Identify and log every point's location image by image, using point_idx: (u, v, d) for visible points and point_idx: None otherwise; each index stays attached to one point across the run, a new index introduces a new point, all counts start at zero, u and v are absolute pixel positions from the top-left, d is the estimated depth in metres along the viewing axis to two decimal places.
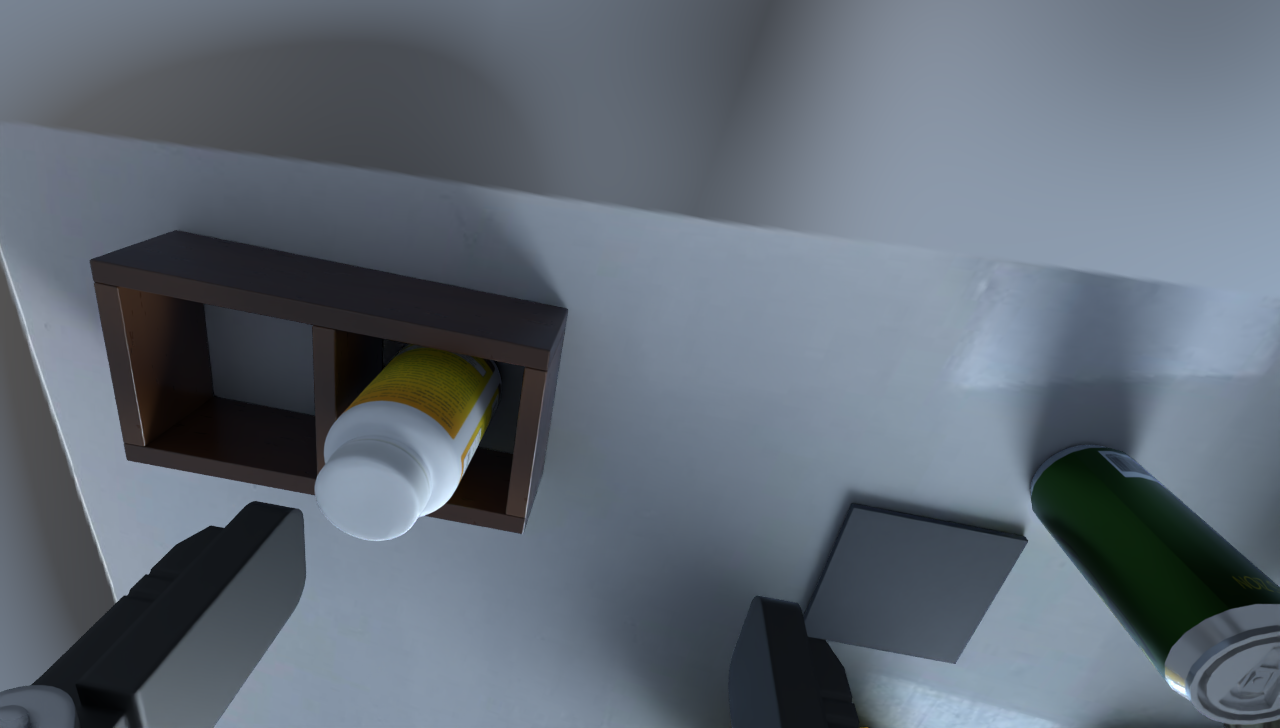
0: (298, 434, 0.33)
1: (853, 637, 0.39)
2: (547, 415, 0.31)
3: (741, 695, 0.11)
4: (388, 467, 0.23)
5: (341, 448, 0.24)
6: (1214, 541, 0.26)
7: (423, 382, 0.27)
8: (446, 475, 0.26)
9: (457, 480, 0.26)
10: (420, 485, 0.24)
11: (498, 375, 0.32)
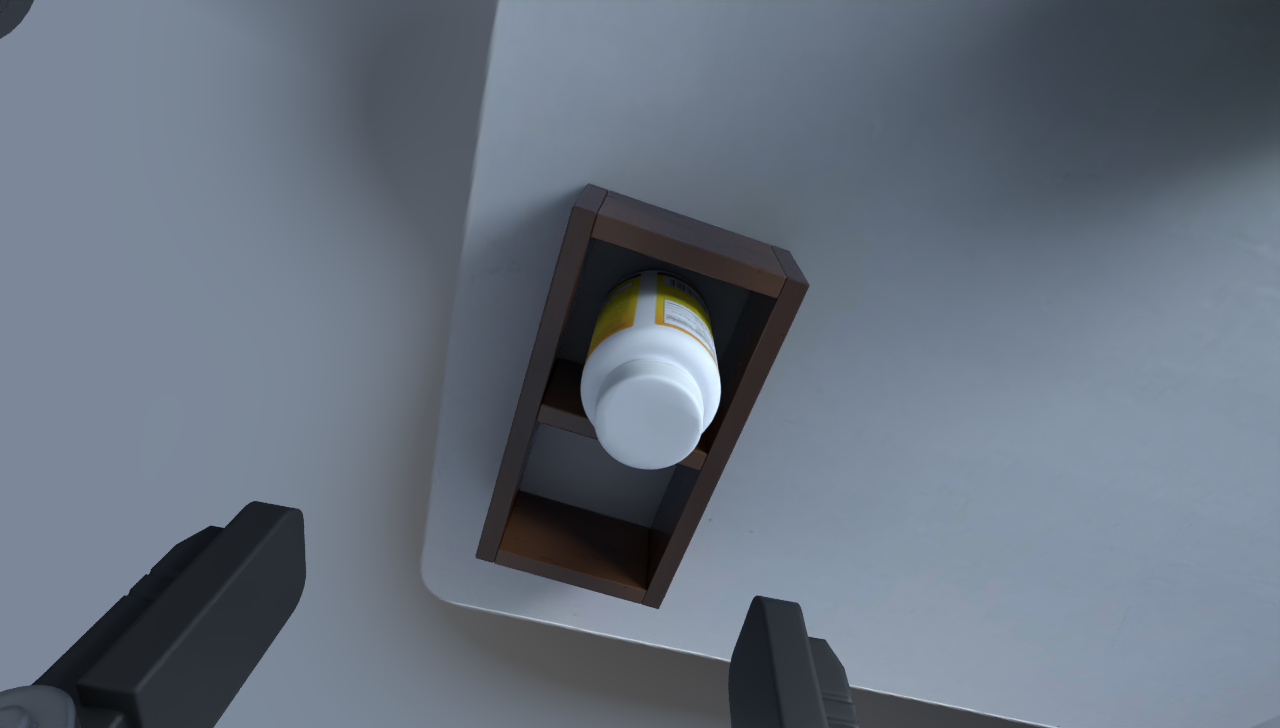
0: (681, 473, 0.34)
1: None
2: (688, 227, 0.28)
3: (741, 695, 0.11)
4: (609, 391, 0.23)
5: None
6: None
7: (592, 341, 0.27)
8: (662, 343, 0.24)
9: (677, 334, 0.24)
10: (645, 369, 0.23)
11: (649, 271, 0.30)
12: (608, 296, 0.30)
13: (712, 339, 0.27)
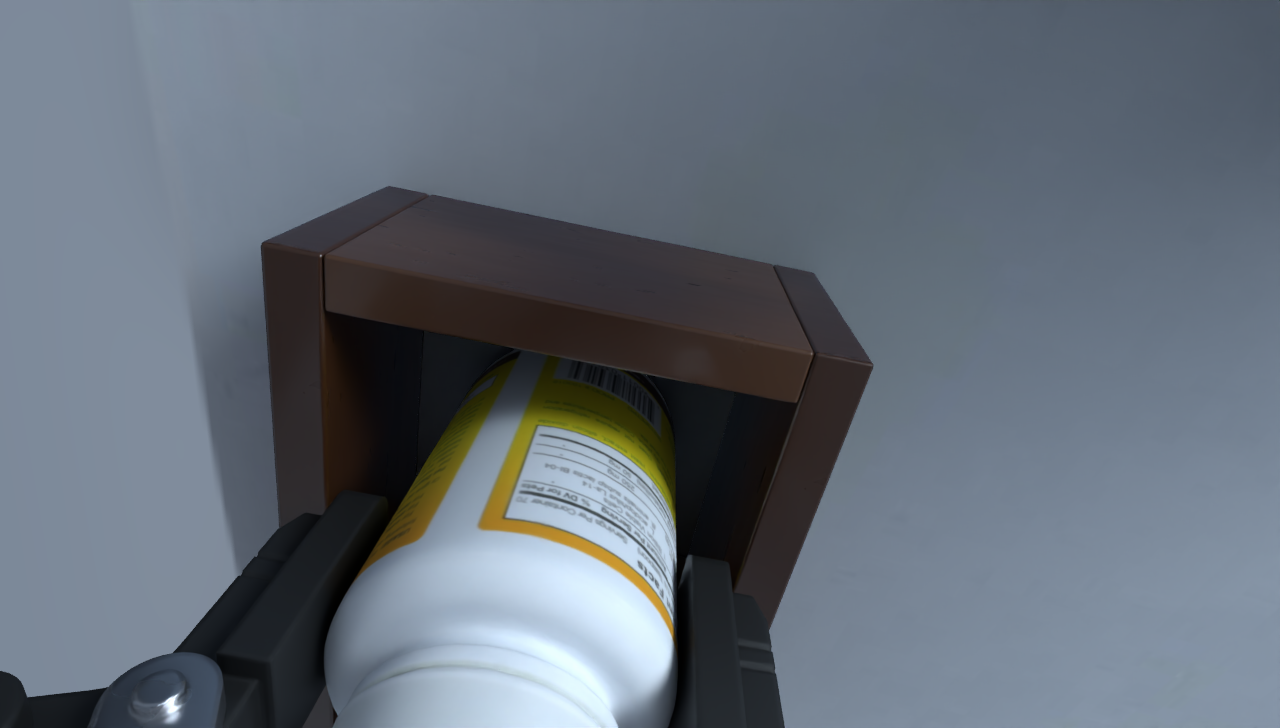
0: None
1: None
2: (584, 254, 0.13)
3: None
4: None
5: None
6: None
7: None
8: (489, 593, 0.09)
9: (533, 557, 0.09)
10: (417, 710, 0.08)
11: None
12: None
13: (660, 499, 0.12)
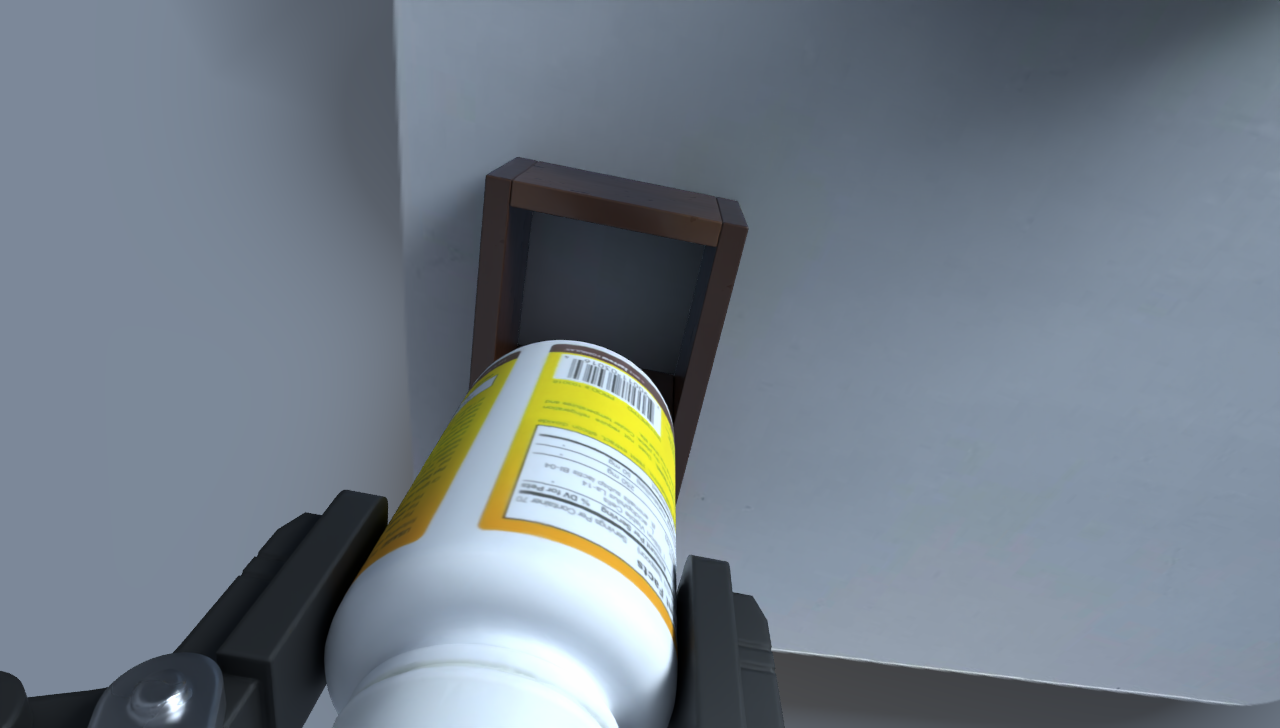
0: None
1: None
2: (619, 187, 0.26)
3: None
4: None
5: None
6: None
7: None
8: (488, 593, 0.09)
9: (532, 556, 0.09)
10: (418, 707, 0.08)
11: (537, 345, 0.15)
12: None
13: (660, 499, 0.12)
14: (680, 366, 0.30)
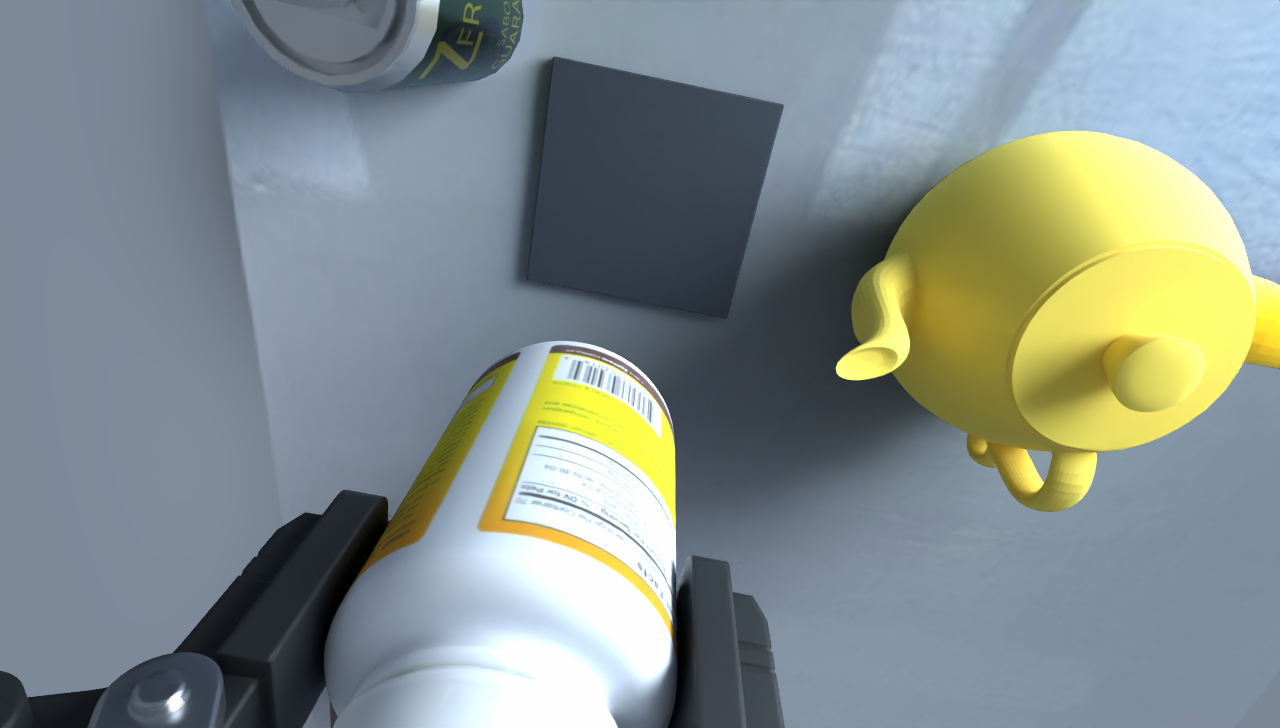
0: None
1: (730, 253, 0.30)
2: None
3: None
4: None
5: None
6: None
7: None
8: (488, 594, 0.09)
9: (532, 558, 0.09)
10: (417, 710, 0.08)
11: (537, 346, 0.15)
12: (461, 405, 0.15)
13: (660, 500, 0.12)
14: None
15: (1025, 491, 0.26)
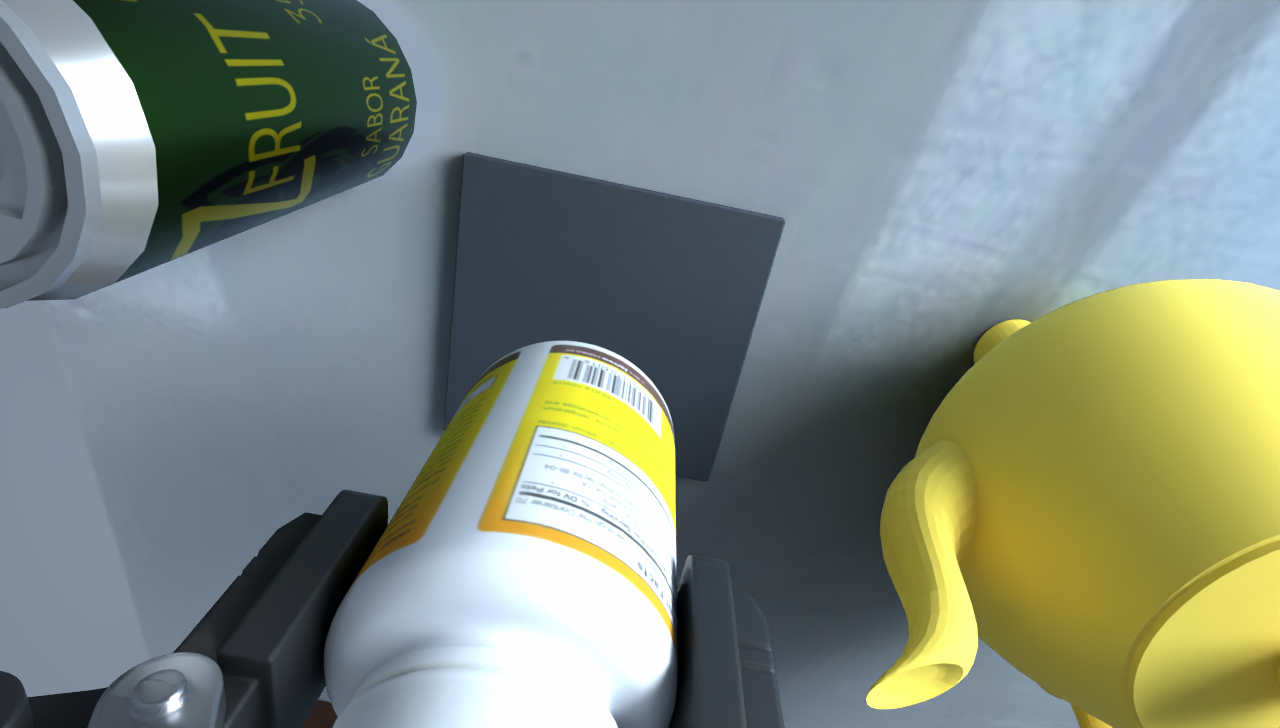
0: None
1: (711, 404, 0.23)
2: None
3: None
4: None
5: None
6: None
7: None
8: (488, 594, 0.09)
9: (532, 558, 0.09)
10: (417, 710, 0.08)
11: (537, 346, 0.15)
12: (461, 405, 0.15)
13: (660, 500, 0.12)
14: None
15: None
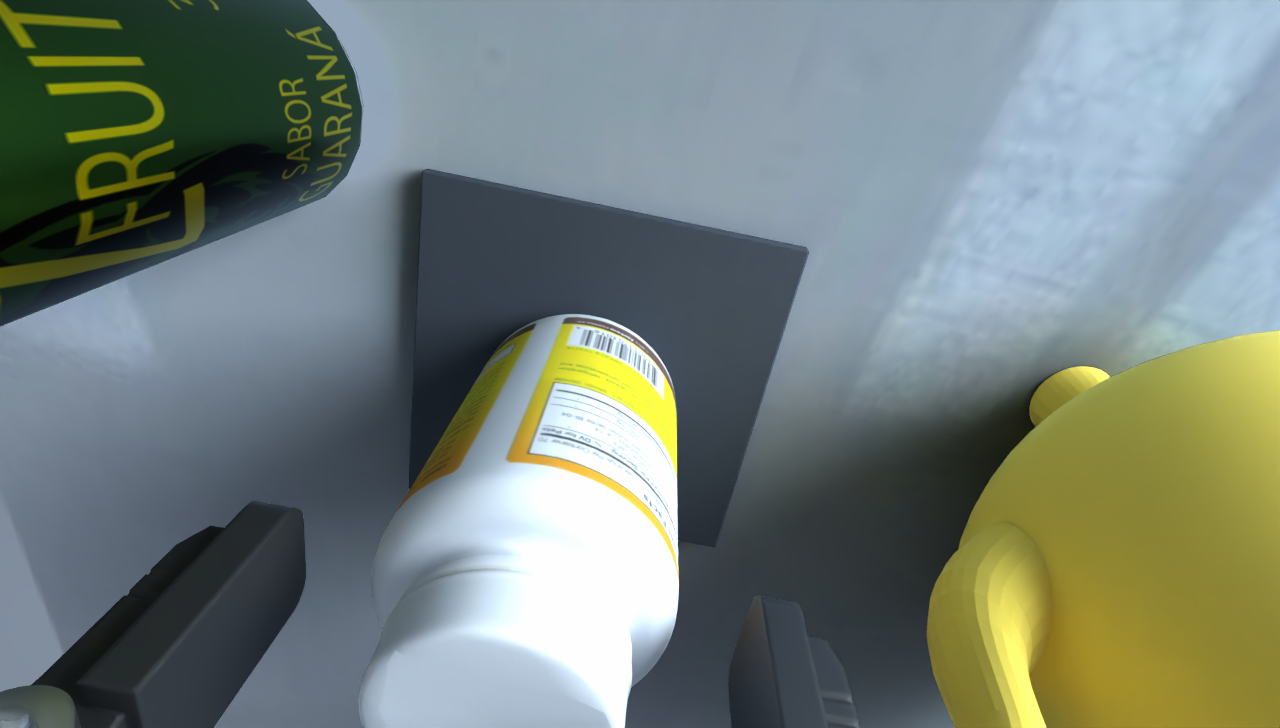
0: None
1: (719, 462, 0.19)
2: None
3: (741, 695, 0.11)
4: (374, 669, 0.09)
5: None
6: None
7: None
8: (517, 511, 0.10)
9: (554, 483, 0.10)
10: (461, 600, 0.09)
11: (551, 318, 0.17)
12: None
13: (663, 450, 0.14)
14: None
15: None
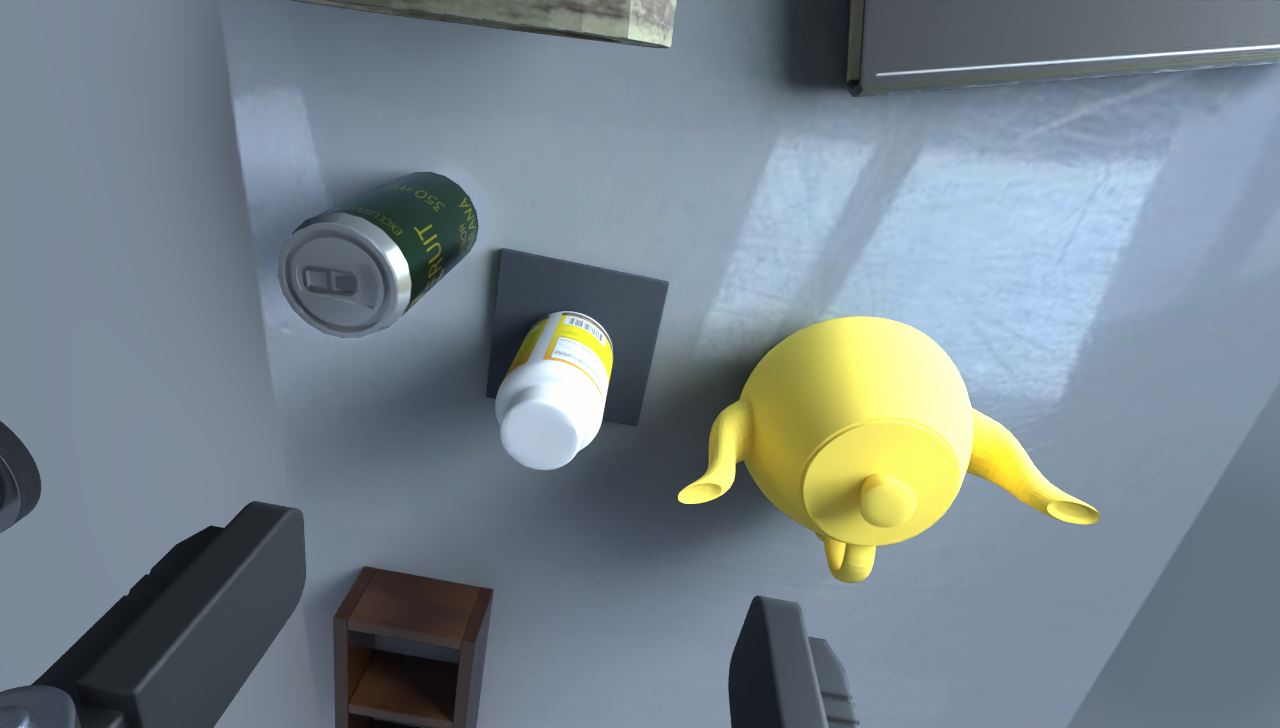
0: None
1: (636, 381, 0.41)
2: (416, 599, 0.47)
3: (741, 695, 0.11)
4: (506, 415, 0.30)
5: None
6: None
7: None
8: (547, 374, 0.31)
9: (559, 365, 0.32)
10: (531, 395, 0.30)
11: (556, 313, 0.38)
12: (526, 336, 0.38)
13: (600, 363, 0.35)
14: None
15: (836, 567, 0.36)
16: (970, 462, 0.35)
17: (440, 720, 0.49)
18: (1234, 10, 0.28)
